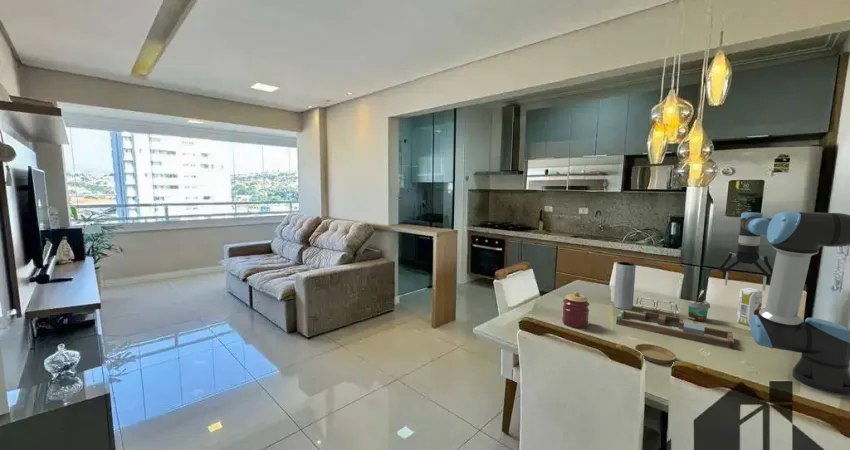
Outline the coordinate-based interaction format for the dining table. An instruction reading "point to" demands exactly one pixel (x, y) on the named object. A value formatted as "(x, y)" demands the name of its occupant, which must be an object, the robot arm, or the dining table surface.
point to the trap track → (676, 333)
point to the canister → (575, 310)
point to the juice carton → (748, 305)
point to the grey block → (694, 328)
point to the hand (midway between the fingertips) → (744, 287)
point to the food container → (698, 311)
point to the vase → (624, 285)
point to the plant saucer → (655, 353)
